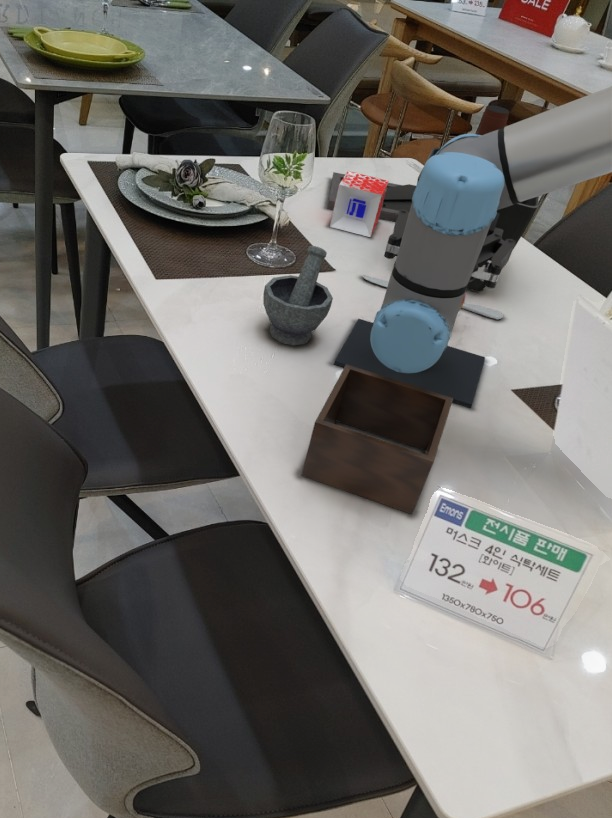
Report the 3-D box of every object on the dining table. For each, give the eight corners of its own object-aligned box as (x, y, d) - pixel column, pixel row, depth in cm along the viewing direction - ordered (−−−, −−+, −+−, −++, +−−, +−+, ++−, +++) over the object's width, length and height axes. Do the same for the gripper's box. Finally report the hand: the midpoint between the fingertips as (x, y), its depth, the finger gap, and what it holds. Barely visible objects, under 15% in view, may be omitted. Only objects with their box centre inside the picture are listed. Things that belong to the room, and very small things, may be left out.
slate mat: (483, 360, 115) (485, 357, 115) (470, 408, 106) (472, 404, 105) (357, 321, 119) (358, 318, 119) (333, 364, 109) (334, 360, 109)
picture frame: (429, 198, 161) (331, 179, 162) (432, 188, 160) (333, 170, 160) (432, 228, 150) (327, 208, 150) (436, 218, 148) (329, 198, 149)
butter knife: (502, 319, 125) (503, 311, 127) (361, 278, 129) (365, 271, 131) (501, 322, 125) (502, 314, 127) (360, 281, 129) (364, 274, 131)
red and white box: (377, 222, 148) (388, 180, 143) (370, 237, 143) (381, 194, 137) (337, 212, 150) (347, 170, 144) (329, 226, 144) (338, 184, 139)
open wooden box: (432, 449, 98) (453, 398, 92) (412, 514, 88) (433, 461, 83) (331, 415, 100) (346, 363, 95) (301, 475, 91) (314, 421, 85)
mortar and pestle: (307, 359, 109) (325, 281, 101) (248, 337, 112) (261, 260, 103) (333, 326, 117) (352, 252, 109) (277, 307, 119) (291, 232, 111)
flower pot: (406, 236, 145) (434, 143, 134) (505, 263, 142) (542, 170, 131) (388, 277, 132) (417, 178, 120) (497, 307, 129) (537, 208, 117)
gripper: (338, 287, 90) (381, 221, 106) (509, 339, 86) (527, 262, 103) (353, 225, 85) (396, 165, 101) (536, 278, 81) (551, 207, 97)
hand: (462, 214), depth 102 cm, fingers closed on wine bottle, 7 cm apart
